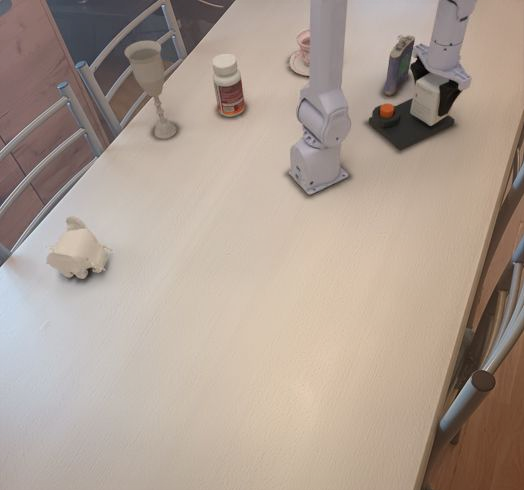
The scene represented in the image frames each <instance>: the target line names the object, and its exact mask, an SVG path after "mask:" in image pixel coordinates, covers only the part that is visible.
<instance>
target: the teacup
mask: <svg viewBox="0 0 524 490" xmlns="http://www.w3.org/2000/svg"><path fill="white" fill-rule="evenodd" d="M295 38H296V42H297V45H298V46H299V48H300V50H297V51H295V52H294V53H293V54H292V55H291V57H290V58H289V67H290V69H291V70H292V71H293V72H295V74H298V75H301V76H305V77H309V70H310V26H308V27H305V28H303V29H301V30H299V31H298V32H297V34H296V37H295Z"/></svg>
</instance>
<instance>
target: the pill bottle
mask: <svg viewBox="0 0 524 490" xmlns="http://www.w3.org/2000/svg"><path fill="white" fill-rule="evenodd" d="M212 70H213V74H212V82H213V88H214V93H215V99H216V104H217V109H218V112H219V114H220V115H222V116H224V117H228V118H229V117H230V118H231V117H236V116H239V115H241V114H242V113H244V111H245V97H244V88H243V81H242V74H241V71H240V69H239V68H238V61H237V57H236V55H234V54H231V53H222V54H218V55H216V56H214V58H213V59H212Z"/></svg>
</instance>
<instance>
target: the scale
mask: <svg viewBox="0 0 524 490" xmlns="http://www.w3.org/2000/svg"><path fill="white" fill-rule="evenodd" d="M412 100H413V97H412V98H410V99H408V100H406V101H403V102H401V103H399V104H397V105H393V106H394V112H393V116H392V117H390V118H384V117H381V116H380V108H381V106H382V105H383V104H380V105H378V106H375V107H374V109H373V110H372V113H371V117H369V118H368V124H369V126H370V127H372V128H373V129H374V130H375V131H377V133H379V134H380V135H381V136H382V137H383V138H384V139H386V140H387V141H388V142H389V143H390V144H392V145H393V146H394V147H395V148H396V149H397V150H398V151H402V150H405V149H406V148H408V147H410V146H413V145H415V144H418V143H420V142H422V141H423V140H426V139H428V138H429V137H431V136H434V135H436V134H438V133H440V132H442V131H444V130H446V129H448V128H451V127H453V126H454V124H455V119H454V118H453V117H452V116H451V115H450V114H449V115H447V116H446V117H444V118H443V119H441V120H440V121H438V122H437V123H435V124H434V125H432V126H429V125H428V124H426V123H425V122H424V121H422V120H420V119H419V118H417V117H415V116H414V115H412V114H411V113H410V110H411V105H412Z"/></svg>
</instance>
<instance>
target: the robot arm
mask: <svg viewBox="0 0 524 490" xmlns="http://www.w3.org/2000/svg"><path fill="white" fill-rule="evenodd" d="M309 1H310V3H309V4H310V7H309V11H310V12H309V27H310V70H309V76H308V77H309V78H308V83H307V84H305V85H304V86H303V87H301V88H300V90H299V91H300V93H299V100H298V102H297V105H296V109H295V116H296V119H297V121H298V122H299V123H300V124H301V127H302V132H303V135H302V137H301V138H300V139H299V140H298V141H297V142H296V143H294V144H293V145H292V146H291V147H290V149H289V156H290V157H289V158H290V159H289V160H290V170H289V171H288V174H289V175H290V176H291V178H292V179H293V181H295V182H296V183H297V184H298V185H299V186H300V187H301V188H302V189H303V191H304V192H305V193H306V194H307V195H309V196H311V195H313V194H316V193H319V192H320V191H321V190H325V189H326V188H328V187H331V186H333V185H334V184H337V183H338V182H340V181H343V180H345V179H347V178H348V177H349V173H348V172H347V171H346V170H345V169H343V168H342V166H341V155H342V154H341V153H342V143H343V142H344V141H345V140H346V138H347V137H348V135H349V133H350V131H351V127H352V120H351V117H350V115H349V104H348V101H347V98H346V96H345V94H344V91H343V89H342V83H343V82H342V81H343V69H344V56H345V55H344V54H345V40H346V26H347V15H348V0H309ZM477 2H478V0H438V3H437V6H436V7H437V8H436V12H435V17H434V22H433V26H432V32H431V36H430V41H429V42H430V43H429V46H428V45H426V44H424V43H418V44H416V45H414V46H413V51H412V56H411V57H413V58H414V59H415V61H414V62H412V63H410V67H409V70H410V71H411V74H412V77H413V82H414V86H415V85H416V81H417V80H419V79H420V78H422V77H424V76H425V75H427V74H429V73H430V72H431V73H434V74H437V75H439V76H442V77H445V78H448V79H449V81H448V82H446V83H444V84H442V85H440V86H439V90H440V104H439V109H438V116H439V117H442V116H444V115H446V114H448V112H449V110H450V108H451V106H452V105H454V103H455V101H456V100H457V99H458V98H459V96H460V95H461V94H462V92H463V91H465V90H467V89H468V88H470V86H471V83H472V79H473V77H472V76H470V75H469V73H468V72H467V71H466V69H465V68H464V67H463V65H462V63H461V62H460V61H461V58H462V56H461V55H460V54H461V50H462V47H463V42H464V39H465V35H466V32H467V27H468V24H469V21H470V16H471V15H472V14H473V12H474V11H475V8H476V5H477ZM452 107H453V106H452Z"/></svg>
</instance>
